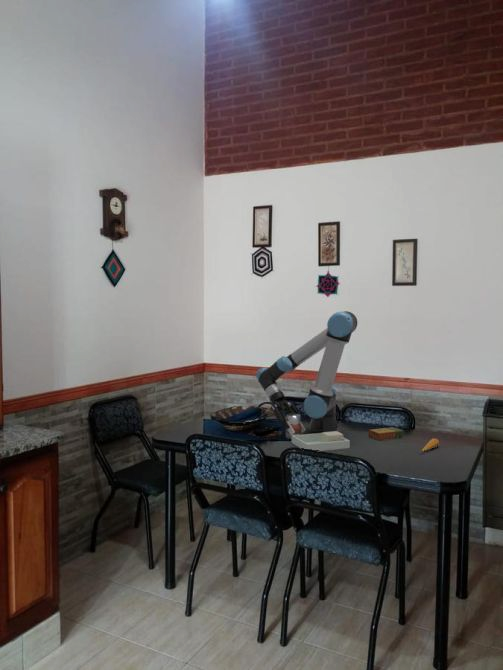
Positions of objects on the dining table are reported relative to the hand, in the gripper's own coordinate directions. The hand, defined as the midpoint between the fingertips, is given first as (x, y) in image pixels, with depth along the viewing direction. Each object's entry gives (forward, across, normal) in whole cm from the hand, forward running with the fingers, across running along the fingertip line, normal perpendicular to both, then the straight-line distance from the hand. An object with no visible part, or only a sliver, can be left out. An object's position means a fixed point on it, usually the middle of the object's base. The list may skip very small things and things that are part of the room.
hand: (298, 432), depth 269 cm
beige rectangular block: (+15, -3, +11) cm, 19 cm away
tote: (+13, +1, +7) cm, 15 cm away
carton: (+20, -39, +14) cm, 46 cm away
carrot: (+38, -35, +32) cm, 60 cm away
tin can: (0, 0, -5) cm, 5 cm away
